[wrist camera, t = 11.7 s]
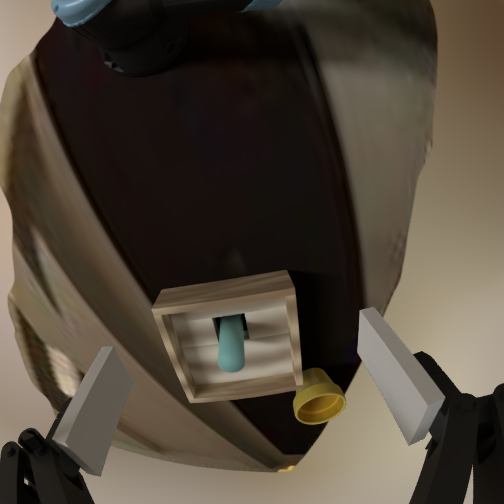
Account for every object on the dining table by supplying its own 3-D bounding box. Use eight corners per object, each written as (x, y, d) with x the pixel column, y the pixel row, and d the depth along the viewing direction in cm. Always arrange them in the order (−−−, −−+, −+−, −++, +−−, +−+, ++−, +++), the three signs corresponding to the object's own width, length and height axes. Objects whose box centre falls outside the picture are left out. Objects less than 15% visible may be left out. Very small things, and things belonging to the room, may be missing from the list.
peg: (223, 330, 50) (221, 374, 39) (218, 312, 49) (214, 354, 38) (244, 327, 50) (247, 370, 39) (240, 308, 49) (242, 351, 38)
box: (161, 289, 47) (151, 309, 40) (286, 269, 47) (294, 287, 40) (193, 379, 54) (190, 403, 47) (296, 365, 54) (303, 388, 47)
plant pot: (314, 397, 58) (323, 428, 49) (278, 386, 56) (285, 419, 47) (342, 368, 56) (356, 399, 46) (307, 355, 53) (318, 388, 44)
